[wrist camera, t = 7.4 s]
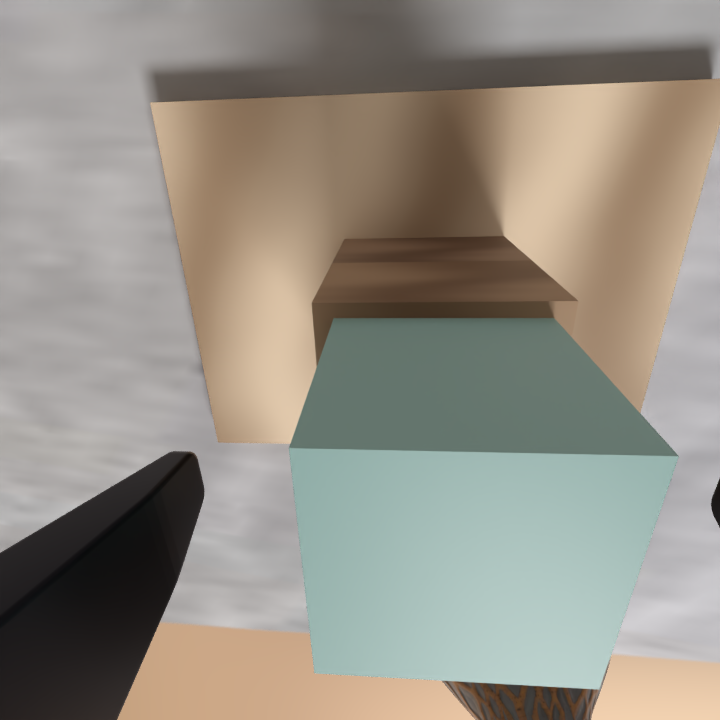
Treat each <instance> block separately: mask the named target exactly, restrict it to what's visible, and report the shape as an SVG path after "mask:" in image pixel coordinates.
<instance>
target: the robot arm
mask: <svg viewBox="0 0 720 720" xmlns="http://www.w3.org/2000/svg"><path fill="white" fill-rule="evenodd" d="M203 499H204V485H203V480H202V476H201V471H200V467H199V463H198V459H197V456H196V455H195V454H194V453H193V452H184V451H173V452H170V453H168V454H166V455H164V456H163V457H161V458H159V459H158V460H156V461H154V462H152V463H151V464H149V465H147V466H146V467H144V468H142V469H141V470H139V471H137V472H136V473H134V474H132V475H131V476H129V477H127V478H126V479H124V480H122V481H120V482H119V483H117V484H115V485H114V486H112V487H110V488H109V489H107V490H105V491H104V492H102V493H100V494H99V495H97V496H95V497H93V498H92V499H90V500H88V501H87V502H85V503H83V504H82V505H80V506H78V507H77V508H75V509H73V510H72V511H70V512H68V513H67V514H65V515H63V516H61V517H60V518H58V519H56V520H55V521H53V522H51V523H50V524H48V525H46V526H45V527H43V528H41V529H40V530H38V531H36V532H35V533H33V534H31V535H29V536H28V537H26V538H24V539H23V540H21V541H19V542H18V543H16V544H14V545H13V546H11V547H9V548H8V549H6V550H4V551H2V552H1V553H0V720H117V719H118V716H119V714H120V712H121V709H122V707H123V705H124V703H125V700H126V698H127V696H128V693H129V691H130V689H131V686H132V684H133V682H134V680H135V677H136V675H137V673H138V671H139V668H140V666H141V664H142V661H143V659H144V657H145V655H146V652H147V650H148V648H149V645H150V643H151V641H152V638H153V636H154V634H155V632H156V629H157V627H158V625H159V623H160V620H161V618H162V616H163V613H164V611H165V609H166V607H167V604H168V602H169V600H170V598H171V595H172V593H173V590H174V588H175V585H176V583H177V581H178V578H179V575H180V572H181V569H182V566H183V563H184V560H185V557H186V554H187V550H188V547H189V544H190V541H191V538H192V535H193V531H194V528H195V525H196V522H197V519H198V516H199V513H200V509H201V506H202V503H203ZM711 507H712V512H713V515H714V517H715V519H716V521H717V523H718V525H719V527H720V479H719V482H718V484H717V487H716V489H715V492H714V494H713V497H712V501H711Z"/></svg>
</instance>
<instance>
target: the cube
mask: <svg viewBox="0 0 720 720" xmlns="http://www.w3.org/2000/svg"><path fill="white" fill-rule="evenodd" d="M289 453H290V462H291V471H292V480H293V489H294V497H295V506H296V515H297V524H298V532H299V541H300V550H301V559H302V568H303V576H304V585H305V594H306V603H307V612H308V620H309V629H310V638H311V647H312V655H313V664H314V673H319V674H336V675H354V676H371V677H389V678H406V679H424V680H441V681H459V682H476V683H494V684H511V685H529V686H546V687H564V688H581V689H600V686H601V683H602V680H603V677H604V675H605V672H606V669H607V666H608V663H609V660H610V657H611V654H612V651H613V648H614V645H615V642H616V639H617V636H618V633H619V630H620V628H621V625H622V622H623V619H624V616H625V613H626V610H627V607H628V604H629V601H630V598H631V595H632V592H633V589H634V586H635V583H636V581H637V578H638V575H639V572H640V569H641V566H642V563H643V560H644V557H645V554H646V551H647V548H648V545H649V542H650V539H651V536H652V534H653V531H654V528H655V525H656V522H657V519H658V516H659V513H660V510H661V507H662V504H663V501H664V498H665V495H666V492H667V489H668V487H669V484H670V481H671V478H672V475H673V472H674V469H675V466H676V463H677V460H678V457H679V456H678V455H677V454H676V453H675V452H674V450H673V449H672V448H671V447H670V446H669V445H668V444H667V443H666V442H665V440H664V439H663V438H662V437H661V436H660V435H659V434H658V433H657V432H656V430H655V429H654V428H653V427H652V426H651V425H650V424H649V423H648V422H647V420H646V419H645V418H644V417H643V416H642V415H641V414H640V413H639V412H638V410H637V409H636V408H635V407H634V406H633V405H632V404H631V403H630V402H629V400H628V399H627V398H626V397H625V396H624V395H623V394H622V393H621V392H620V390H619V389H618V388H617V387H616V386H615V385H614V384H613V383H612V382H611V380H610V379H609V378H608V377H607V376H606V375H605V374H604V373H603V372H602V370H601V369H600V368H599V367H598V366H597V365H596V364H595V363H594V362H593V360H592V359H591V358H590V357H589V356H588V355H587V354H586V353H585V352H584V350H583V349H582V348H581V347H580V346H579V345H578V344H577V343H576V342H575V340H574V339H573V338H572V337H571V336H570V335H569V334H568V333H567V332H566V330H565V329H564V328H563V327H562V326H561V325H560V324H559V323H558V322H557V320H556V319H555V318H334V319H333V322H332V325H331V327H330V330H329V333H328V336H327V339H326V342H325V345H324V348H323V351H322V354H321V356H320V359H319V362H318V365H317V368H316V371H315V374H314V377H313V380H312V383H311V386H310V388H309V391H308V394H307V397H306V400H305V403H304V406H303V409H302V412H301V415H300V417H299V420H298V423H297V426H296V429H295V432H294V435H293V438H292V441H291V444H290V446H289Z"/></svg>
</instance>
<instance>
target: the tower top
mask: <svg viewBox="0 0 720 720" xmlns="http://www.w3.org/2000/svg"><path fill="white" fill-rule="evenodd" d="M577 307H578V300H577V299H576V298H575V297H573V296H572V295H571V294H570V293H569V292H568V291H567V290H565V289H564V288H563V287H562V286H561V285H560V284H558V283H557V282H556V281H555V280H554V279H553V278H552V277H550V276H549V275H548V274H547V273H546V272H545V271H544V270H542V269H541V268H540V267H539V266H538V265H537V264H536V263H534V262H533V261H532V260H518V261H447V262H375V263H332V264H331V266H330V268H329V270H328V272H327V274H326V276H325V278H324V280H323V282H322V284H321V286H320V288H319V290H318V291H317V293H316V295H315V297H314V299H313V301H312V314H313V327H314V339H315V352H316V364H317V365H318V362H319V359H320V356H321V354H322V351H323V348H324V345H325V342H326V339H327V336H328V333H329V330H330V327H331V325H332V322H333V319H334V318H555V319H556V320H557V322H558V323H559V324H560V325H561V326H562V327H563V328H564V329H565V330H566V332H567V333H568V334H569V335H570V336H571V337H572V334H573V329H574V323H575V318H576V312H577Z"/></svg>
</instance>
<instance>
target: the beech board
mask: <svg viewBox="0 0 720 720" xmlns="http://www.w3.org/2000/svg"><path fill="white" fill-rule="evenodd" d="M150 104H151V109H152V114H153V119H154V124H155V129H156V134H157V139H158V144H159V149H160V154H161V159H162V164H163V169H164V174H165V179H166V184H167V189H168V194H169V199H170V204H171V209H172V214H173V219H174V224H175V229H176V234H177V239H178V244H179V249H180V254H181V259H182V264H183V269H184V274H185V279H186V284H187V289H188V294H189V299H190V304H191V309H192V314H193V319H194V324H195V329H196V334H197V339H198V344H199V349H200V354H201V359H202V364H203V369H204V374H205V379H206V384H207V389H208V394H209V399H210V404H211V409H212V414H213V419H214V424H215V429H216V434H217V439H218V442H223V443H285V444H291V441H292V438H293V435H294V432H295V429H296V426H297V423H298V420H299V417H300V415H301V412H302V409H303V406H304V403H305V400H306V397H307V394H308V391H309V388H310V386H311V383H312V380H313V377H314V374H315V371H316V368H317V364H316V352H315V339H314V327H313V314H312V301H313V299H314V297H315V295H316V293H317V291H318V290H319V288H320V286H321V284H322V282H323V280H324V278H325V276H326V274H327V272H328V270H329V268H330V266H331V264H332V262H333V260H334V258H335V256H336V254H337V252H338V251H339V249H340V247H341V245H342V243H343V241H344V239H371V238H427V237H482V236H505V237H506V238H507V239H508V240H509V241H510V242H511V243H513V244H514V245H515V246H516V247H517V248H518V249H519V250H521V251H522V252H523V253H524V254H525V255H526V256H528V257H529V258H530V259H531V260H532V261H533V262H534V263H536V264H537V265H538V266H539V267H540V268H541V269H542V270H544V271H545V272H546V273H547V274H548V275H549V276H550V277H552V278H553V279H554V280H555V281H556V282H557V283H558V284H560V285H561V286H562V287H563V288H564V289H565V290H567V291H568V292H569V293H570V294H571V295H572V296H573V297H575V298H576V299H577V300H578V307H577V312H576V318H575V323H574V329H573V334H572V338H573V339H574V340H575V342H576V343H577V344H578V345H579V346H580V347H581V348H582V349H583V350H584V352H585V353H586V354H587V355H588V356H589V357H590V358H591V359H592V360H593V362H594V363H595V364H596V365H597V366H598V367H599V368H600V369H601V370H602V372H603V373H604V374H605V375H606V376H607V377H608V378H609V379H610V380H611V382H612V383H613V384H614V385H615V386H616V387H617V388H618V389H619V390H620V392H621V393H622V394H623V395H624V396H625V397H626V398H627V399H628V400H629V402H630V403H631V404H632V405H633V406H634V407H635V408H636V409H637V410H638V412H639V413H640V412H641V408H642V405H643V401H644V397H645V394H646V390H647V386H648V383H649V379H650V375H651V372H652V368H653V365H654V361H655V357H656V354H657V350H658V346H659V343H660V339H661V336H662V332H663V328H664V325H665V321H666V317H667V314H668V310H669V306H670V303H671V299H672V296H673V292H674V288H675V285H676V281H677V277H678V274H679V270H680V266H681V263H682V259H683V256H684V252H685V248H686V245H687V241H688V237H689V234H690V230H691V227H692V223H693V219H694V216H695V212H696V208H697V205H698V201H699V197H700V194H701V190H702V187H703V183H704V179H705V176H706V172H707V168H708V165H709V161H710V158H711V154H712V150H713V147H714V143H715V139H716V136H717V132H718V128H719V125H720V79H702V80H678V81H655V82H631V83H607V84H583V85H559V86H535V87H511V88H488V89H464V90H440V91H416V92H392V93H368V94H344V95H320V96H297V97H273V98H249V99H225V100H201V101H177V102H153V103H150Z"/></svg>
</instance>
